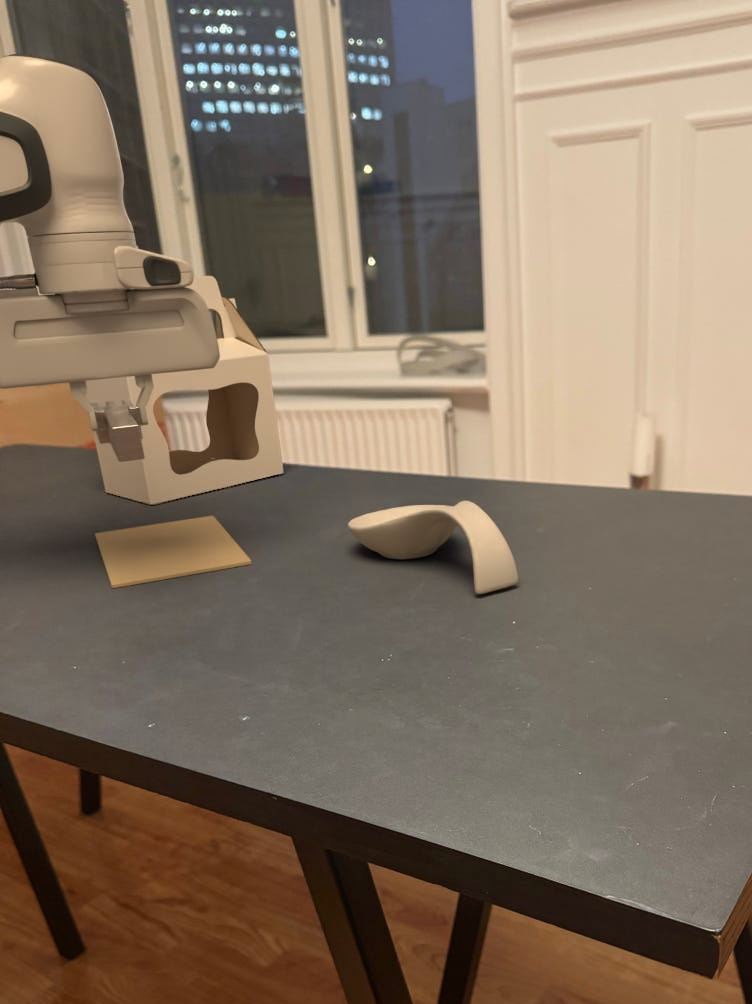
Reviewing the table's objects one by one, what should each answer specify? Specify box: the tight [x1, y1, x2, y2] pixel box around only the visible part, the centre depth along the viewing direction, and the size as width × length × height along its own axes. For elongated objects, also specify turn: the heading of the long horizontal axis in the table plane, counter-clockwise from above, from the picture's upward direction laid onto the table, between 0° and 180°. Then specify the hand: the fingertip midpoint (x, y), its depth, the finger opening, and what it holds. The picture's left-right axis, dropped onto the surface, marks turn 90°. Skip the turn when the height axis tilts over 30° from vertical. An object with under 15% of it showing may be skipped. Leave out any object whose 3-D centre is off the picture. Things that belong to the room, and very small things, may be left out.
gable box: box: [84, 275, 285, 506], centre depth 129 cm, size 22×13×28 cm, turn 137°
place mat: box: [94, 515, 253, 589], centre depth 103 cm, size 22×14×1 cm, turn 25°
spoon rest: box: [347, 500, 519, 595], centre depth 93 cm, size 24×12×7 cm, turn 34°
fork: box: [90, 399, 145, 462], centre depth 88 cm, size 19×4×3 cm, turn 24°
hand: (120, 427), depth 87 cm, fingers closed on fork, 2 cm apart
